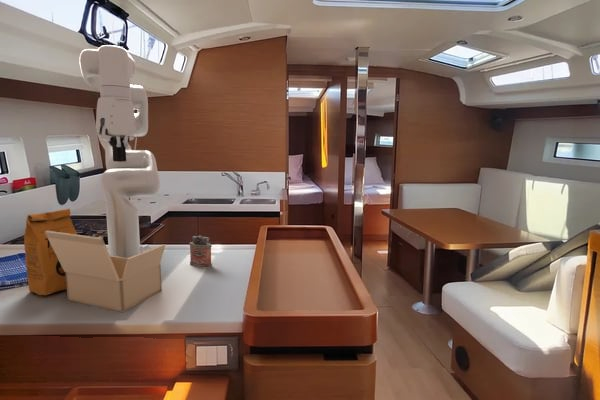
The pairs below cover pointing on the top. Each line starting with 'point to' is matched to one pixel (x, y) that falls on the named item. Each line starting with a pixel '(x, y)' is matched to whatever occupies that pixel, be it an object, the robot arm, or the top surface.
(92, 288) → the carton
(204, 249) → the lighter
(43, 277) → the coffee package
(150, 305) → the top surface
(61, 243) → the lid flap
